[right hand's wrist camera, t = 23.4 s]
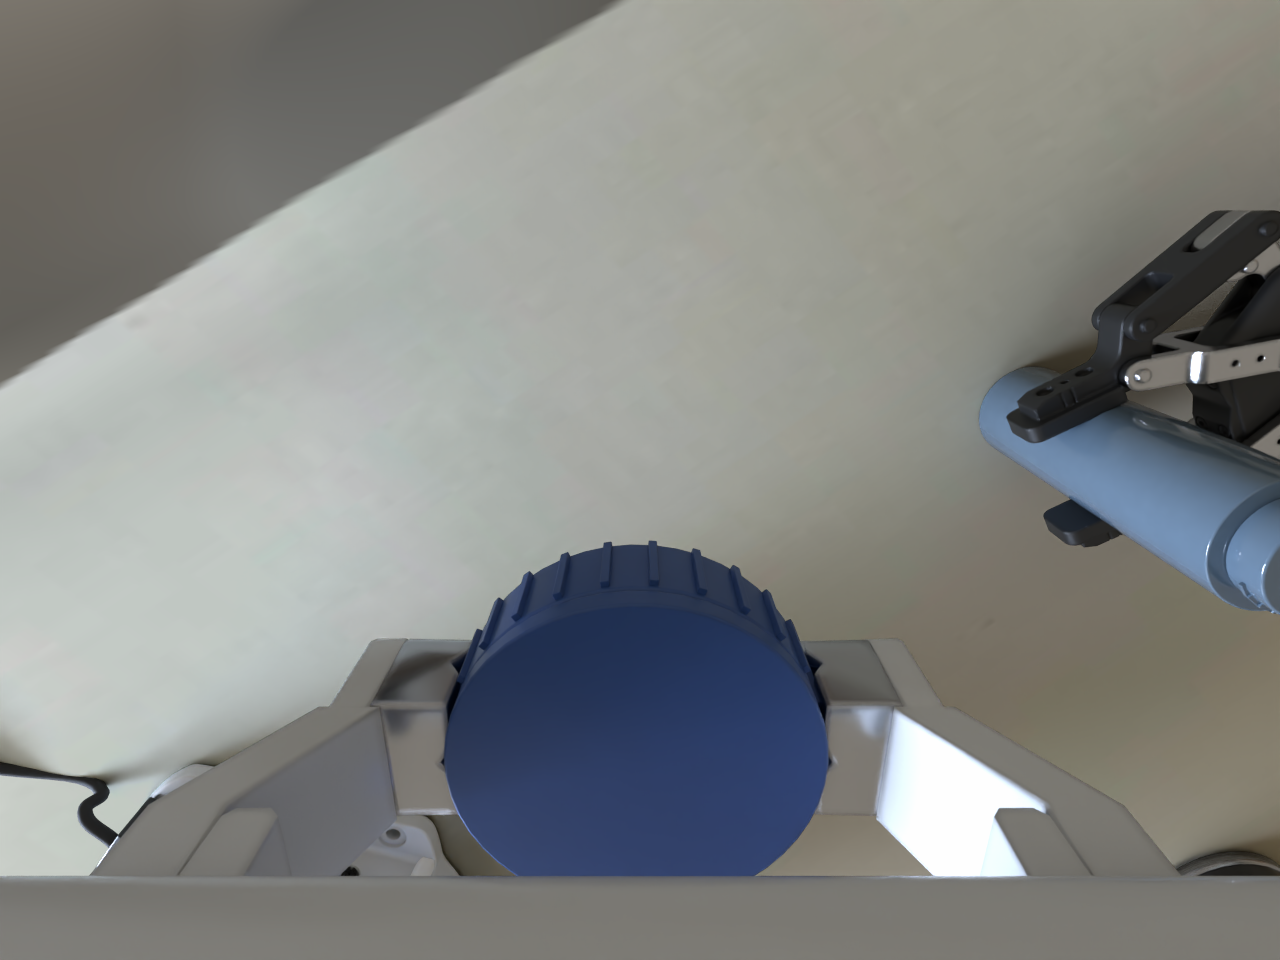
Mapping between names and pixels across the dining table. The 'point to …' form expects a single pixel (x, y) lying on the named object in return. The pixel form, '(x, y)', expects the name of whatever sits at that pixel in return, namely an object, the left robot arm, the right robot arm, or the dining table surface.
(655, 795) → the lid
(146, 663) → the dining table surface
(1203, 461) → the jar
